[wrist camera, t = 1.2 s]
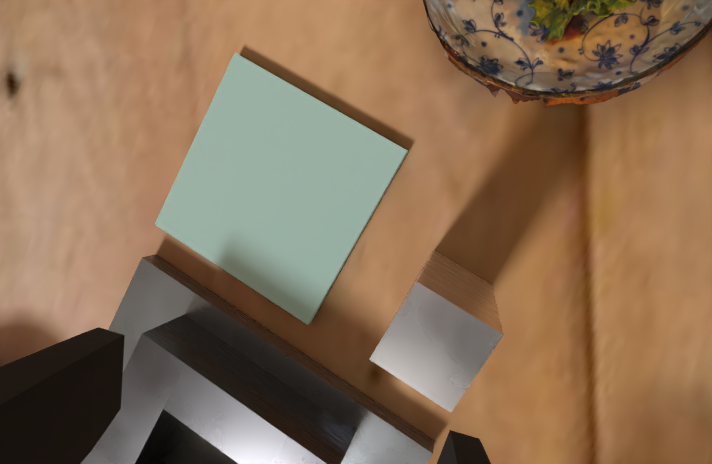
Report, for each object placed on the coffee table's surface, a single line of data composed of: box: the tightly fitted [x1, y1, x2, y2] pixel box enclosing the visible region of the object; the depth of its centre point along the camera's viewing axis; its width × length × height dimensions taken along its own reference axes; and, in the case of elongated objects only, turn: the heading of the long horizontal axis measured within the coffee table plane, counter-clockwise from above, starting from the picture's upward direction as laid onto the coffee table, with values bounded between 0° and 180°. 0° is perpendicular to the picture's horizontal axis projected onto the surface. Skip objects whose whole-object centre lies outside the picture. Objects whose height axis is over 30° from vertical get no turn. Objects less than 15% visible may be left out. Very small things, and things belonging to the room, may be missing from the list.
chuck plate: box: [80, 255, 434, 464], centre depth 22 cm, size 16×12×4 cm
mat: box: [155, 53, 409, 325], centre depth 22 cm, size 9×9×1 cm
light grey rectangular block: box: [369, 250, 503, 413], centre depth 17 cm, size 3×3×7 cm
